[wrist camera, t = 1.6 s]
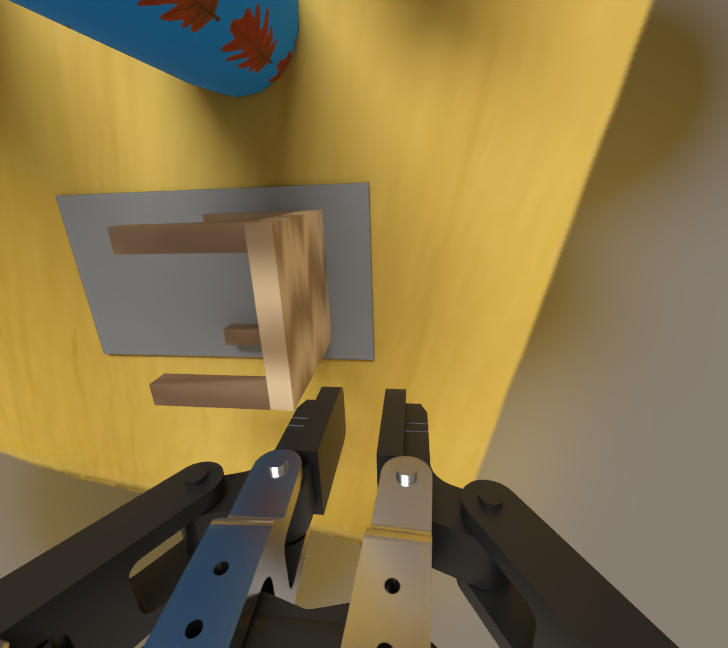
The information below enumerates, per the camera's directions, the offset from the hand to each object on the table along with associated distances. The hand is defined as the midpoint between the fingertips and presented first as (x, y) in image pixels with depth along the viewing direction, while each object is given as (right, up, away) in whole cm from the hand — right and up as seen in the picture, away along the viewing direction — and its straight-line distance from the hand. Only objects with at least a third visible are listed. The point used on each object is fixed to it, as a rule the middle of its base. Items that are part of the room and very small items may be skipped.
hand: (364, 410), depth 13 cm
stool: (-8, +7, +21) cm, 23 cm away
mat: (-14, +7, +22) cm, 27 cm away
